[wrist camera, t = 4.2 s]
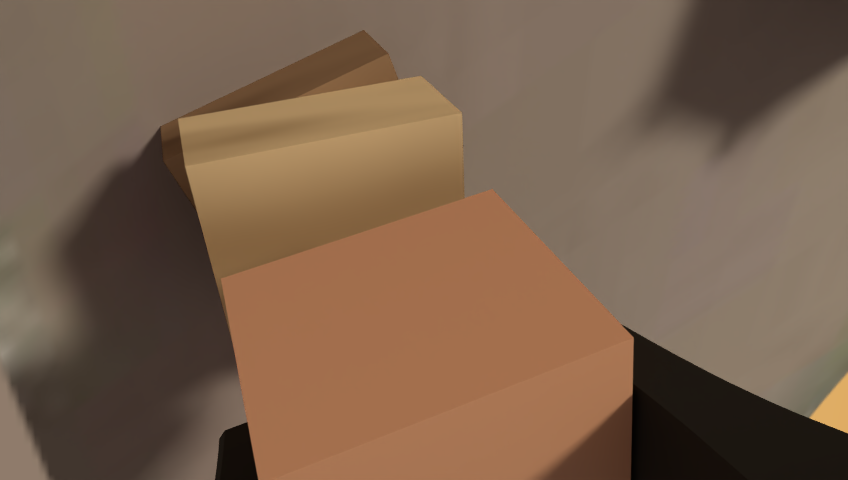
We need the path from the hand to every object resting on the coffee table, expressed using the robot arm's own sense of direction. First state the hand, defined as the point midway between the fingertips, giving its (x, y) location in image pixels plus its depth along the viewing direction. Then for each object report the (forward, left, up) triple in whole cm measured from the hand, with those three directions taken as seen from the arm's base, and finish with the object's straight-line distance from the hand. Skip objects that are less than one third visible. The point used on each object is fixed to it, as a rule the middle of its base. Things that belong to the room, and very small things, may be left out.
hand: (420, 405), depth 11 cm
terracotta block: (0, 0, -2) cm, 2 cm away
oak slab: (0, 0, -7) cm, 7 cm away
